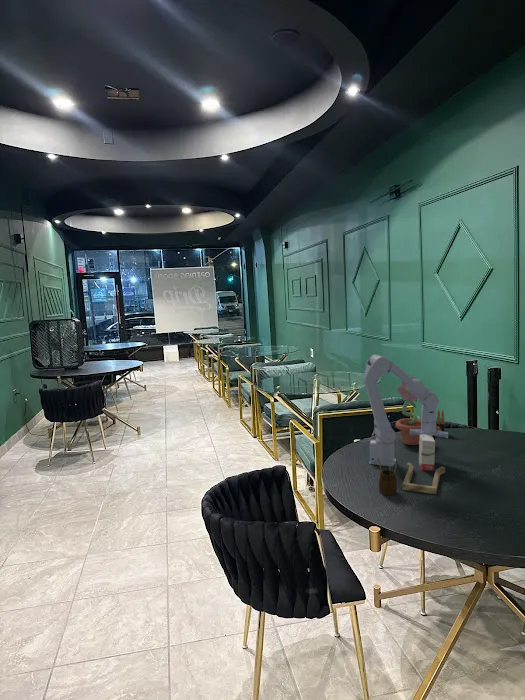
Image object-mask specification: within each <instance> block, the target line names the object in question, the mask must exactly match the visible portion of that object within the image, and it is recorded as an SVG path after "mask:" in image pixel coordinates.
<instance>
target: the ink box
mask: <svg viewBox="0 0 525 700" xmlns="http://www.w3.org/2000/svg"><path fill="white" fill-rule="evenodd" d="M418 448H419V449H418V464H419V467H420V470H421V471H431V472H432V471H435V458H436V456H435V455H436V453H435V452H436V440H435V441H434V439H433V437H432V435H425V434H421V435H420V437H419V444H418Z"/></svg>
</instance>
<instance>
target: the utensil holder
mask: <svg viewBox="0 0 525 700" xmlns="http://www.w3.org/2000/svg"><path fill="white" fill-rule="evenodd" d="M378 462H379V465H378V466H379V468H380V472H379V477H378V478H379V479H378V489H379V492H380V494H383V495H385V494H386V495H385V496H391V495H395V494H396V493H397V490H398V489H397V487H398V486H397V484H398V483H397V482H398V481H397V478H396V476H397V475H396V471H395V470H391V469H382V465H381V464H380V460H379V457H378ZM394 463H395V464H393V465H394V466H395V467H394V468H397V467H398V466H397V463H396V462H394ZM388 468H391V466H388Z"/></svg>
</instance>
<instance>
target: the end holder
mask: <svg viewBox="0 0 525 700" xmlns="http://www.w3.org/2000/svg"><path fill="white" fill-rule="evenodd" d="M406 469H407V471H406V474H405V477H404V479H403V482H402V490H403V491H410V492H416V493H417V492H418V493H423V494H432V495H437V492H438V486H439V483H440V478H441V475H442V474H445V473H446V467H445V466H443V465H442V466H440V467H438V468H436V469H435V470H434V471H435V472H434V476H433V479H432V484H431V486H430V485H425V484H417V483H410V482H411V480H412V477H413V476H414V472H415V469H414V466H413V464H412V463H411V462H407V463H406Z"/></svg>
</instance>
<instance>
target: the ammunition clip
mask: <svg viewBox="0 0 525 700" xmlns="http://www.w3.org/2000/svg"><path fill="white" fill-rule="evenodd" d="M436 430H437V431H442V432H446V430H445V412H444V409H441V412H440V409H438V410H437V411H436Z"/></svg>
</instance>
